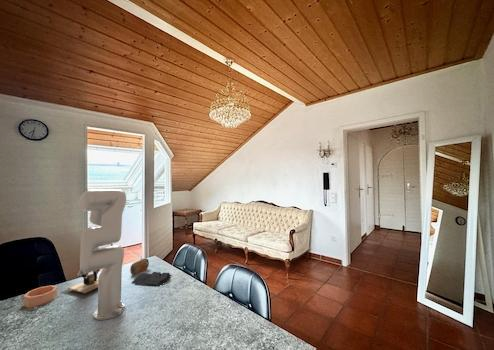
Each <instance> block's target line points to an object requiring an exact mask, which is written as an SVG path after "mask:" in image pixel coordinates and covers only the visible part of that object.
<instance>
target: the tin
mask: <svg viewBox="0 0 494 350" xmlns="http://www.w3.org/2000/svg"><path fill="white" fill-rule="evenodd" d="M149 265H150V262H149V259H148V258H142V259H141V258H140V259H139V260H137V261H135V262H133V263H132V264H131V266H130V269H129V271H130V274H131V275H133V276H138V275H140V274H142V273H144V272H145V271H147V269H148V268H149ZM144 270H145V271H144ZM141 272H142V273H141Z"/></svg>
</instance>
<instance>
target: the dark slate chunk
mask: <svg viewBox="0 0 494 350" xmlns="http://www.w3.org/2000/svg"><path fill="white" fill-rule="evenodd" d="M170 276H171V277H172V274H171V273H170V272H162V273H161V271H159V272H158V271H153V272H152V273H147V272H145V273H144V272H142V273H140V274H138V275H136V277H135V278H134V279H133V280H132V281H131V285H132V284H133V286H140V287H141V286H142V287H154V288H155V287H156V286H158V287H160V285H162V284H163V283H164V284H166V283H168V281H169V280H170V279H171V277H170ZM165 282H166V283H165ZM164 284H163V285H164ZM163 285H162V286H163ZM156 288H157V287H156Z"/></svg>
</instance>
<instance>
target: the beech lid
mask: <svg viewBox="0 0 494 350" xmlns="http://www.w3.org/2000/svg"><path fill="white" fill-rule="evenodd" d="M88 278H89V284H88V285H85V284H84V280H83V281H81V282H78V283H76V284H74V285H71V286H69V287H67V289H69V290H74V291H78V292H83V293H87V292H89V291H91V290H93V289H95V288H98V279H99V277H97V281H94V279H95V274H93V273H91V274H90V273H88Z"/></svg>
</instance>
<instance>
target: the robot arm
mask: <svg viewBox="0 0 494 350" xmlns="http://www.w3.org/2000/svg"><path fill="white" fill-rule="evenodd" d="M126 203H127V194H126V192H125V191H124V190H123V189H116V188H114V189H113V188H111V189H110V188H108V189H106V188H103V189H87V190H85V191H84V192H83V193H82V194H81V195H80V197H79V199H78V203H77V204H78V207H77V208H78V210H79V211H80V212H90V216H89V222H90V223H91V224H92V225H96V226H90V227H87V228H85V229H84V230H83V231H82V233H81V236H80V251H79V271H78V273H76V275H77V276H78V277H81V278H83V281H84V284H85V285H88V284H89V278H88V275H89V274H90V273H92V274H95V279H94V281H97V278H99V279H98V292H97V309H96V310H95V311H94V312H93V315H92V316H93V319H95V320H96V321H104V320H109V319H113V318H114V317H117V316H119V315H120V314H122V313H123V311H124V310H125V309H126V306H125V304H124V303H123V301H122V269H123V261H124V258H125V250H124V248H123V246H121V245H113V244H116V243H118V242H120V240H121V238H122V229H123V228H122V227H123V225H122V224H123V213H124V210H125V208H126ZM108 245H110V246H108ZM103 246H104V247H103ZM99 247H100V248H99ZM100 271H101V272H100ZM99 272H100V273H99ZM98 274H99V276H98Z"/></svg>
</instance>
